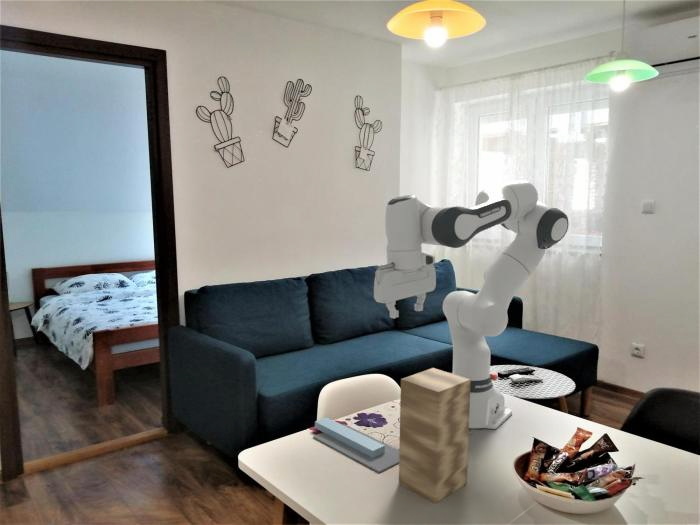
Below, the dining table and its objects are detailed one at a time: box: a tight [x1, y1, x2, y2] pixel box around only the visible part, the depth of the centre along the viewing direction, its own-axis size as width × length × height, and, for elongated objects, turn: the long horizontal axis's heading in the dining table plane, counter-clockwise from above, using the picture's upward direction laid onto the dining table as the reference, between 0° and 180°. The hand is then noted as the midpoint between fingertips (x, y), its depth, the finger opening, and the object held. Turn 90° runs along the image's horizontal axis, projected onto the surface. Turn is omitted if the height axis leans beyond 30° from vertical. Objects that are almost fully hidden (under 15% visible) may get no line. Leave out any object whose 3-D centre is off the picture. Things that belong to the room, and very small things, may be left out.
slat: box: [314, 417, 385, 458], centre depth 151 cm, size 4×24×2 cm, turn 42°
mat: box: [312, 423, 399, 474], centre depth 147 cm, size 12×26×1 cm, turn 43°
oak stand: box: [398, 367, 471, 504], centre depth 127 cm, size 12×11×26 cm
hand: (406, 314), depth 138 cm, fingers open, 8 cm apart
